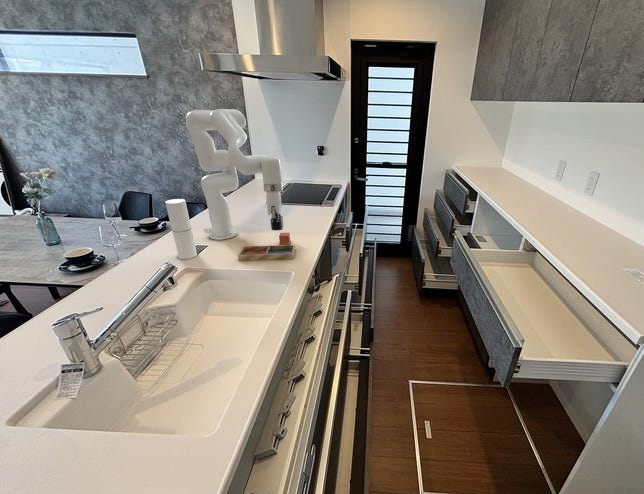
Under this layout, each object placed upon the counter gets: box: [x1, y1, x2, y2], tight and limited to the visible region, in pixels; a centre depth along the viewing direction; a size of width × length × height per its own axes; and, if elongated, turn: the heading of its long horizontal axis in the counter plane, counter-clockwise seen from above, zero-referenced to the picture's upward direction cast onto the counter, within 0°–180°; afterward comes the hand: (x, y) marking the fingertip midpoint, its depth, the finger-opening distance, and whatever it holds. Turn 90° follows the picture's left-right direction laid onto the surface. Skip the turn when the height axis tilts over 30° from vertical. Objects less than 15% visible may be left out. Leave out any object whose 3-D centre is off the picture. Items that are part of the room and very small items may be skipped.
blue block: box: [270, 215, 284, 231], centre depth 133 cm, size 4×4×5 cm
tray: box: [237, 244, 296, 262], centre depth 137 cm, size 23×10×2 cm, turn 98°
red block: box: [278, 232, 291, 245], centre depth 150 cm, size 4×4×5 cm
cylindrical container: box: [164, 198, 198, 260], centre depth 130 cm, size 7×7×25 cm
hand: (277, 227), depth 134 cm, fingers closed on blue block, 4 cm apart
